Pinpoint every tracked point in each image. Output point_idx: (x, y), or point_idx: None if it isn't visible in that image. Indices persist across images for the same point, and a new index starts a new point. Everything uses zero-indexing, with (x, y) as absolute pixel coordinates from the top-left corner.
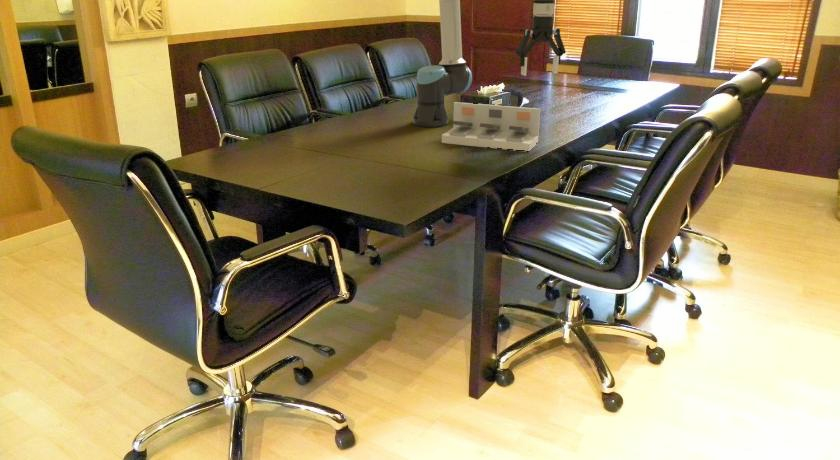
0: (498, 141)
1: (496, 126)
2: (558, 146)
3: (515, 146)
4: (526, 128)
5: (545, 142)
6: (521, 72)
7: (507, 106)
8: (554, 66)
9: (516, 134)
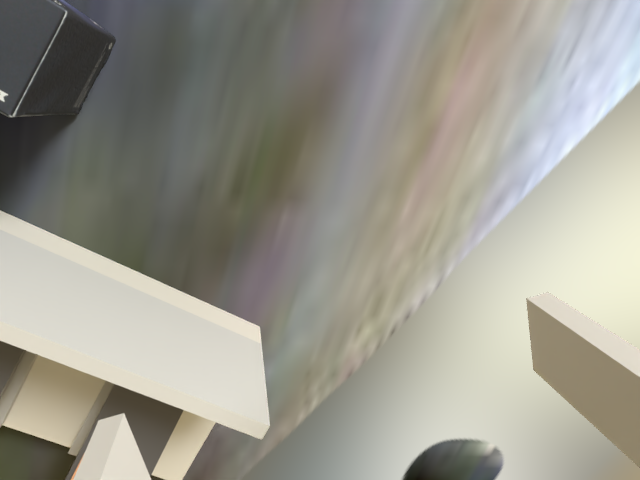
0: (35, 432)
1: (8, 381)
2: (329, 386)
3: None
4: (180, 414)
5: (295, 323)
6: (94, 446)
7: (49, 350)
8: (579, 373)
9: None
